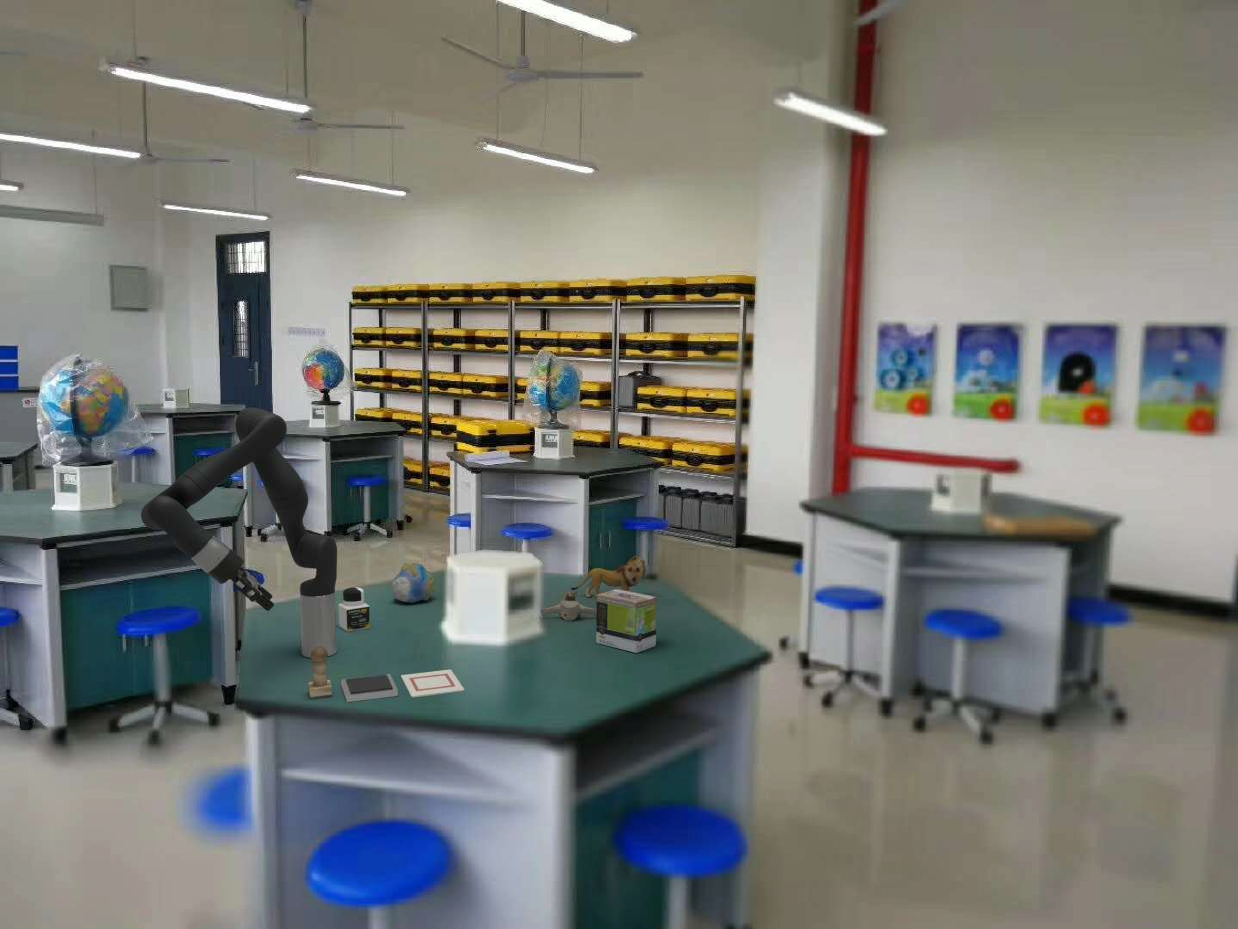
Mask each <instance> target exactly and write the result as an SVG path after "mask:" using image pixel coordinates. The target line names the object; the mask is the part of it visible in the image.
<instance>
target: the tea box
mask: <svg viewBox="0 0 1238 929" xmlns="http://www.w3.org/2000/svg"><path fill="white" fill-rule="evenodd" d="M595 602H596V608H595V609H596V617H595V618H596V621H595V622H596V623H595V624H596V625H595V626H596V627H595V628H596V629H595V632H596V633H595V635H596V638H595V639H596V642H595V643H597V644H600V645H604V646H606V647H607V646H608V647H611V648H615V649H619V650H623V651H625V652H626V651H627V652H631V653H634V654H638V653H640V652H643V651H646V650H648V649H651V648H654V647H656V645H657V644H656V643H657V596H655V595H649V594H645V593H639V592H634V591H625V590H622V589H619V588H616V589H612V590H609V591H605V592H602V593H598V595H597V598H596V601H595Z"/></svg>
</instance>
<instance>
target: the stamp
mask: <svg viewBox="0 0 1238 929" xmlns="http://www.w3.org/2000/svg"><path fill="white" fill-rule="evenodd" d="M328 657H329V656H328V652H327V650H326V649H325V648H323V647H316V648H315V649H313V650H312V652H311V658H310V659H311V661H312V681H309V682H308V693H309V694H308V695H309V699H310V700H317V699H325V698H326V699H328V698H332V697H333V688H332V687H333V686H332V683H331V679H328V678H327V677H328V676H327V673H328V672H327V659H328Z"/></svg>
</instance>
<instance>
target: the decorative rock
mask: <svg viewBox="0 0 1238 929" xmlns="http://www.w3.org/2000/svg"><path fill="white" fill-rule="evenodd" d="M393 579H394V581H393V582H392V586H391V587H392V593H393V595H394V598H395V599H396V600H398V601H400V602H403V603H408V604H414V603H417V602H419V601H427V600H430V598H431V595H433V594H435V593H436V588H435V587H434V584H435V583H436V580H435V578H434V576H433V574H432V573H431V572H430V571H429V570H428V569H426V567H425V566H424V565H423V564H421V563H415V562H414V563H411V564H410V563H407V562H406V563H403V565H402V566H401V567H400V570H399V572H398V573H397V574H396V576H394V578H393Z"/></svg>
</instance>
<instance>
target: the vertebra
mask: <svg viewBox="0 0 1238 929" xmlns="http://www.w3.org/2000/svg"><path fill="white" fill-rule="evenodd" d="M563 597H564V598H563V600H560V603H559V604H557V605H554V606H551V607H547V608H540V609H541V613H542V616H543V618H544V617H546V616H548V615H552V614H558V615H559V616H560V615H561V618H562V619H563V620H565V621H569V622H571V621H574V620H576V619H577V618H578V616H579V615H580V614H587V615H591V616H593V617H594V618H596V608H593V607H587V606H585V605H583V604H581V603H580V602H579V601H577V590H574V591H571V589H570V590H568V591H563Z"/></svg>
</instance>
